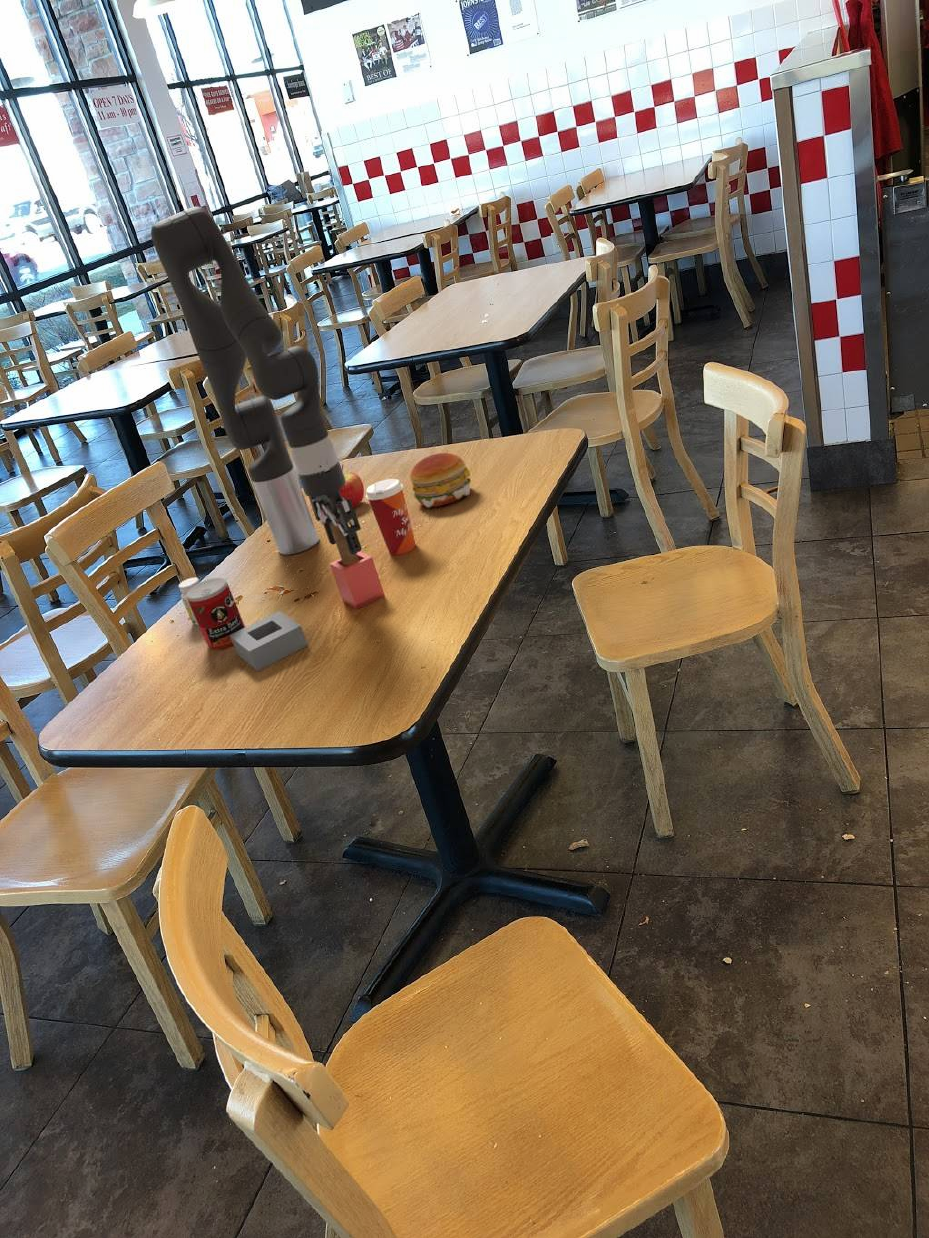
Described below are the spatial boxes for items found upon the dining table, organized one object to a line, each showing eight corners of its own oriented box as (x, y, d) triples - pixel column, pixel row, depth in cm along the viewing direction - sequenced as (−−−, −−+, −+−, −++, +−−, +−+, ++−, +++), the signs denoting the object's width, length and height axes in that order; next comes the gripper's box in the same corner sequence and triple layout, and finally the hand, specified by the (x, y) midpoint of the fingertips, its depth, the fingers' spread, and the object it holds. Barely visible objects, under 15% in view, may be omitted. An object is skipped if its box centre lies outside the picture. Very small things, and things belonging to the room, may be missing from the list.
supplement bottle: (220, 612, 197) (204, 575, 193) (208, 624, 193) (191, 587, 190) (200, 614, 199) (185, 577, 195) (188, 626, 195) (171, 589, 191)
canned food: (213, 655, 180) (190, 602, 175) (203, 641, 187) (181, 590, 182) (252, 637, 183) (231, 585, 178) (241, 624, 189) (220, 573, 184)
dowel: (352, 596, 185) (326, 523, 179) (365, 589, 186) (341, 517, 180) (359, 600, 183) (333, 526, 176) (372, 593, 184) (348, 520, 177)
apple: (375, 498, 234) (362, 459, 229) (354, 514, 228) (340, 474, 223) (349, 499, 238) (336, 460, 234) (327, 514, 233) (313, 475, 228)
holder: (237, 654, 178) (229, 635, 176) (286, 629, 182) (279, 610, 180) (257, 671, 170) (248, 651, 168) (308, 645, 174) (300, 625, 172)
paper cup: (415, 554, 197) (395, 489, 191) (380, 560, 199) (359, 496, 193) (424, 537, 204) (405, 474, 198) (390, 543, 206) (370, 481, 200)
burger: (440, 485, 230) (428, 445, 226) (486, 485, 222) (475, 444, 217) (405, 511, 221) (392, 469, 217) (452, 512, 213) (440, 468, 209)
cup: (343, 601, 186) (329, 563, 183) (370, 587, 189) (357, 550, 185) (356, 609, 181) (343, 570, 178) (384, 595, 184) (371, 557, 180)
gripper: (283, 467, 177) (312, 547, 185) (315, 478, 166) (344, 564, 173) (319, 451, 180) (347, 531, 187) (353, 461, 169) (381, 547, 176)
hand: (346, 547), depth 180 cm, fingers open, 8 cm apart
